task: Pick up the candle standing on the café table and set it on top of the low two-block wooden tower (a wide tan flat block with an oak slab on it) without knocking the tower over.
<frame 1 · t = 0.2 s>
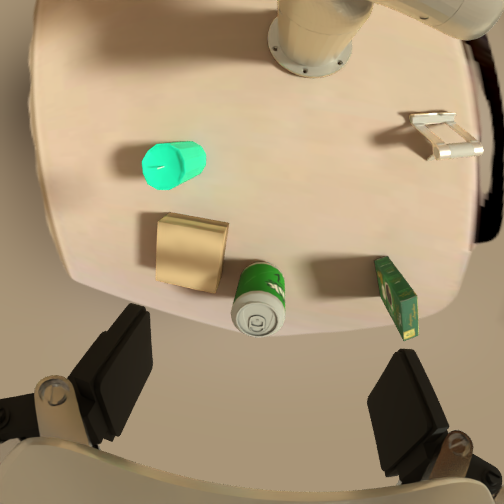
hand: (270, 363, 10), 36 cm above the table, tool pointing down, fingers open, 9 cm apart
oak block: (192, 251, 46), point 2 cm above the table, touching tan flat block
portable electronic device stand: (433, 136, 37), on the table
soda can: (262, 278, 49), on the table
coffee box: (383, 276, 47), on the table
candle: (188, 159, 43), on the table
tan flat block: (196, 244, 49), on the table, touching oak block
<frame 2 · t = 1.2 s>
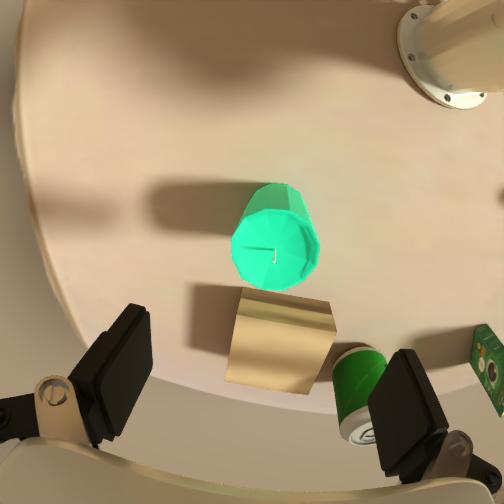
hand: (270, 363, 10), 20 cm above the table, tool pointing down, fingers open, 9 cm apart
oak block: (277, 342, 32), point 3 cm above the table, touching tan flat block
soda can: (357, 361, 36), on the table
coffee box: (477, 343, 33), on the table
candle: (276, 211, 29), on the table
tan flat block: (277, 327, 35), on the table, touching oak block
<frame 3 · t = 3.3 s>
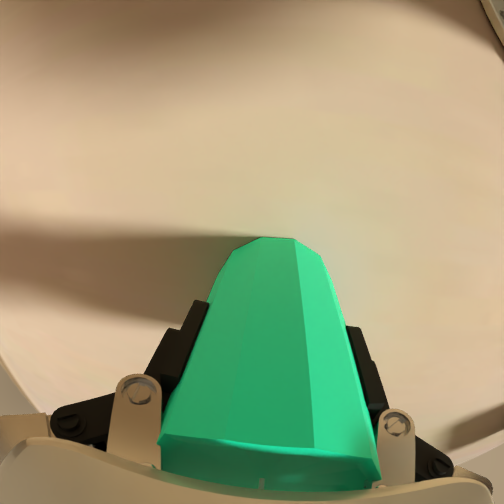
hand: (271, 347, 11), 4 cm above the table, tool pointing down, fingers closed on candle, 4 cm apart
candle: (274, 289, 15), on the table, touching gripper
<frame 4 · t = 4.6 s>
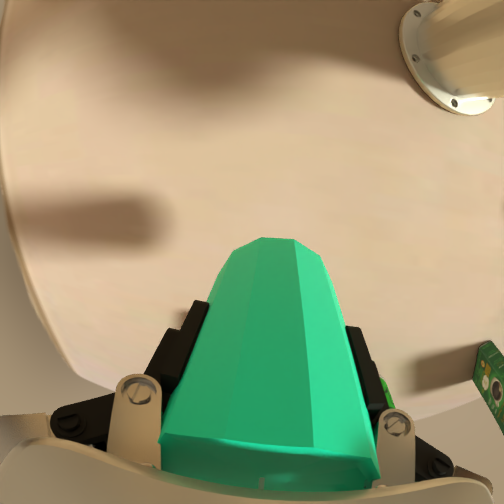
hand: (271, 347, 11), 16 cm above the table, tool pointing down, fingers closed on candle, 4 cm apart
coffee box: (480, 360, 31), on the table
candle: (274, 289, 15), point 12 cm above the table, touching gripper
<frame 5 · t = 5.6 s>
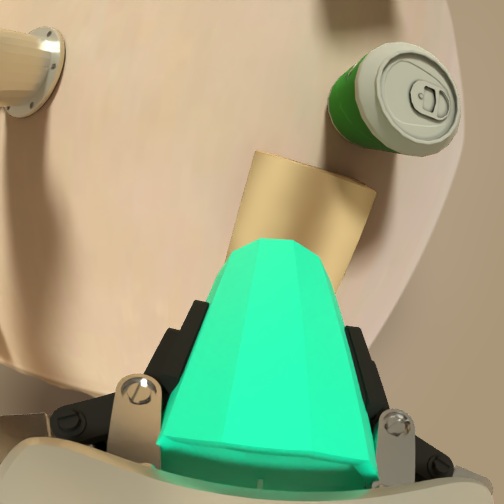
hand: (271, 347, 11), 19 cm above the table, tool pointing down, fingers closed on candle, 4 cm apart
oak block: (296, 220, 26), point 3 cm above the table
soda can: (362, 109, 24), on the table
candle: (273, 290, 15), point 14 cm above the table, touching gripper
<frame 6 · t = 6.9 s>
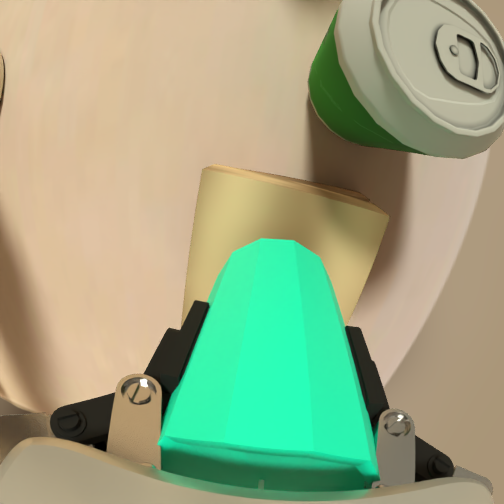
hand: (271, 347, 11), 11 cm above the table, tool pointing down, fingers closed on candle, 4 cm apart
oak block: (277, 257, 19), point 2 cm above the table, touching tan flat block
soda can: (359, 93, 17), on the table
candle: (274, 290, 15), point 6 cm above the table, touching gripper
tan flat block: (277, 242, 22), on the table, touching oak block
when the fingers open (11 cm above the table, at t = 7.9 s): candle moves 1 cm, resting on oak block.
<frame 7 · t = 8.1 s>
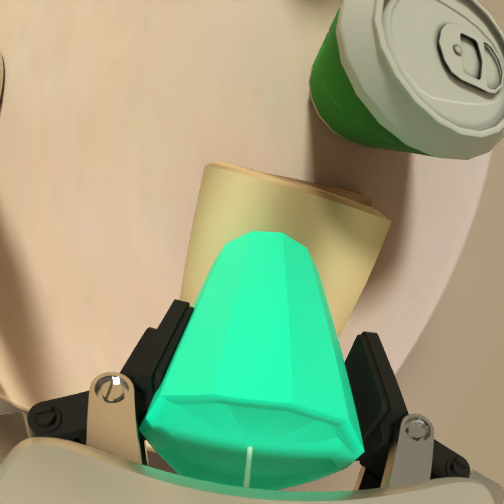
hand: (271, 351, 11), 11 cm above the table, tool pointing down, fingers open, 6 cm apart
oak block: (276, 258, 19), point 2 cm above the table, touching candle, tan flat block
soda can: (361, 93, 16), on the table
candle: (264, 280, 16), point 5 cm above the table, touching gripper, oak block
tan flat block: (278, 243, 21), on the table, touching oak block
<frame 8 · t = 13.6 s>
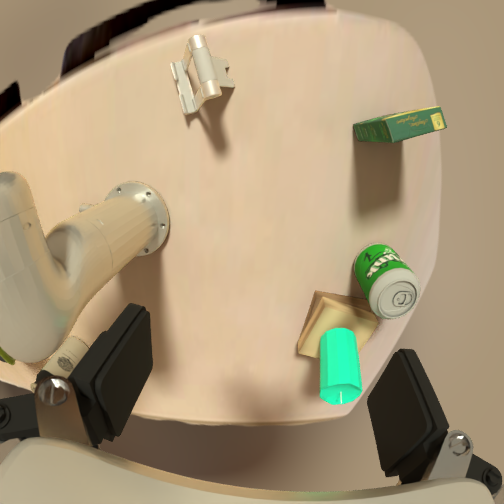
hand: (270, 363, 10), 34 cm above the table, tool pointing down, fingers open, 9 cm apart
travel mug: (80, 348, 59), on the table
oak block: (335, 328, 47), point 2 cm above the table
portable electronic device stand: (205, 81, 36), on the table
soda can: (373, 261, 45), on the table
plant pot: (19, 335, 63), on the table
coffee box: (378, 126, 37), on the table
candle: (337, 339, 44), point 6 cm above the table
tan flat block: (333, 317, 50), on the table
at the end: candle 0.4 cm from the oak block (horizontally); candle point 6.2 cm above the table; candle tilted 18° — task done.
